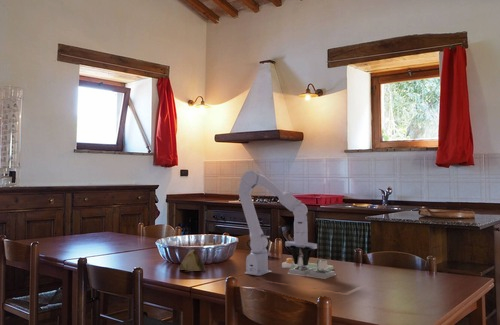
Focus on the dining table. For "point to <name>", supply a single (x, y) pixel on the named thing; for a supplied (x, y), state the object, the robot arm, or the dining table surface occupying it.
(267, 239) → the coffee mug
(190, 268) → the rock
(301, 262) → the cylinder
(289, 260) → the button cap
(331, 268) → the tray
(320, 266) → the cylinder
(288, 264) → the button housing
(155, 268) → the dining table surface
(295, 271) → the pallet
